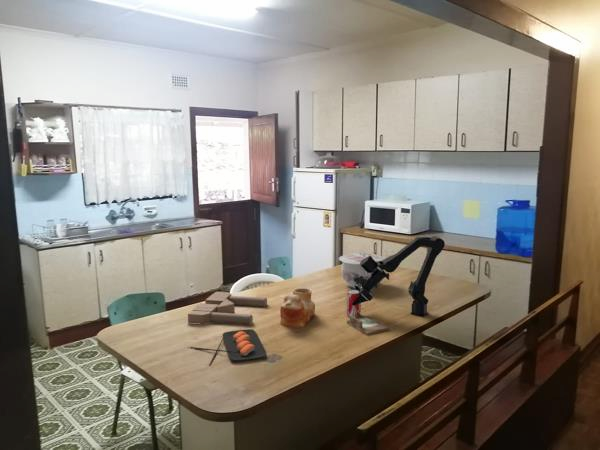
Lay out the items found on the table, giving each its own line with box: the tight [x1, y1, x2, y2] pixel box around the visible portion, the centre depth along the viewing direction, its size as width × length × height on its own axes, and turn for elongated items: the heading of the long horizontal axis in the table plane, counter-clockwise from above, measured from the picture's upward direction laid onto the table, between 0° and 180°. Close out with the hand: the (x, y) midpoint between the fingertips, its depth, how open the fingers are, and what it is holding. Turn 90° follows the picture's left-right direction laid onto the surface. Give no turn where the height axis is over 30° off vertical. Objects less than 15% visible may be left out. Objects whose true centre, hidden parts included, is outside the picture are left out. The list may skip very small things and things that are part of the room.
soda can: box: [345, 289, 362, 318], centre depth 225 cm, size 7×7×12 cm
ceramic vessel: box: [279, 287, 316, 328], centre depth 219 cm, size 14×26×15 cm, turn 160°
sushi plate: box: [190, 328, 267, 367], centre depth 189 cm, size 29×30×4 cm
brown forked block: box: [187, 291, 268, 326], centre depth 231 cm, size 35×6×29 cm
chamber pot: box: [338, 251, 386, 289], centre depth 272 cm, size 28×28×21 cm
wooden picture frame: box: [346, 315, 390, 336], centre depth 211 cm, size 16×12×4 cm
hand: (351, 301), depth 225 cm, fingers open, 9 cm apart
